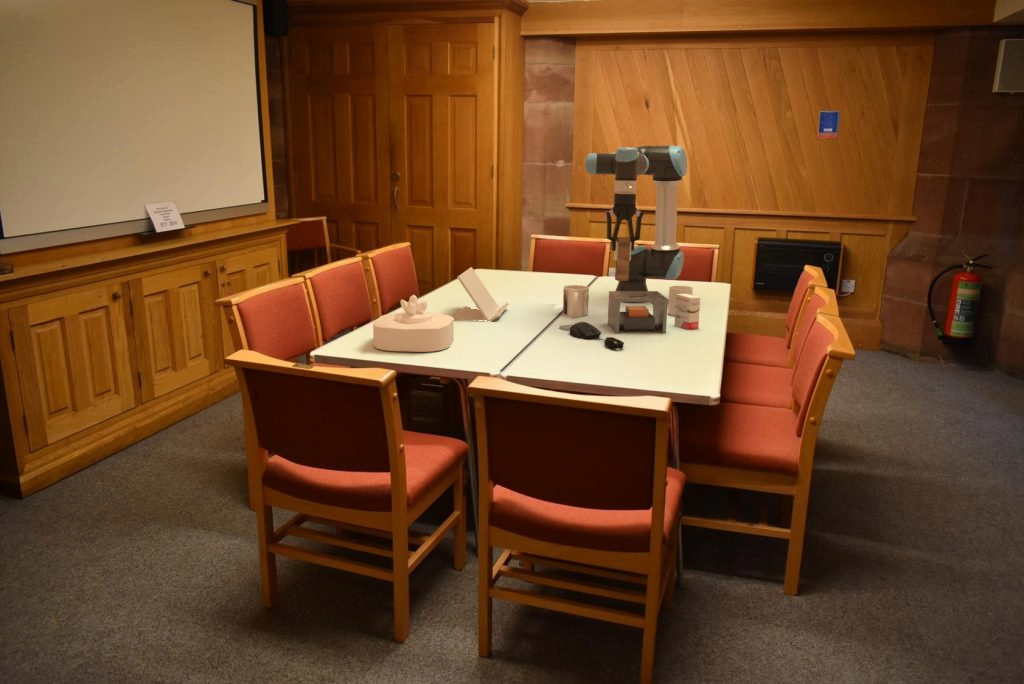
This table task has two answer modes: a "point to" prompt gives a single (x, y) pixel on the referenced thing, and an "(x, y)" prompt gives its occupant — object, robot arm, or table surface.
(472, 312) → the tablet stand
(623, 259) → the walnut block
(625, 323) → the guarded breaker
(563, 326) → the coaster
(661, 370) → the table surface
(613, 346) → the computer mouse
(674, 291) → the mug
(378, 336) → the pink flower lid box
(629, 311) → the breaker button
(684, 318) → the ink box
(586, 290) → the mug
